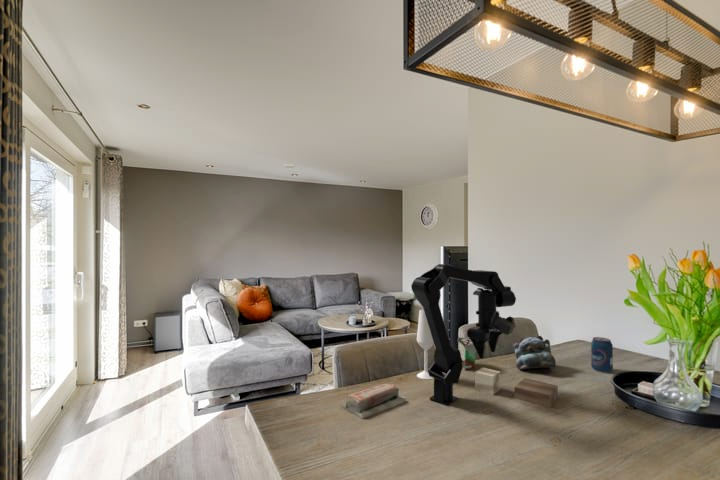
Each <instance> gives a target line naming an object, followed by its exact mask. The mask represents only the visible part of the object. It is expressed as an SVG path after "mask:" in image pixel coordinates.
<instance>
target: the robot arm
mask: <svg viewBox="0 0 720 480" xmlns="http://www.w3.org/2000/svg"><path fill="white" fill-rule="evenodd" d="M449 279H454V280H458V281H463V282H464V281H465V282H468V283H471V284H472V285H473V286H476V287H477V289H475V290H474V291H473V293H472V295H473V296H477V301H478V302H477V306H478V307H477V310H475V314H476V315H477V317H478V318H477V319H478V320H477V321H478V322H476V323H475V326H472V327H470V328H468V329H467V330H466V338H469V339H471V341H472V343H473V345H474V347H475V349H476V353H477V356H478V357H479V359H482V360H483V359H484V357H485V351H486V350H485V349H486V344H487V343H488V346H489V347H488V348H489V349H490V352H491V353H495V351H496V349H497V345H498V342H499V339H500V336H502V335H506V336H507V335H510V334H512V333H513V331H514V328H516V322H515V318H514V317H513V316H511V315H510V316H507V317H501V316H500V311H498V310H497V308H503V307H512V306H514V305H515V303H516V300H517V297H516V295H515V293H514V292H513V290H511V289H512V287H511V286H509V285H508V286H507V285H506V286H505V285H504V283H503V282H502V280H501V278H500V276H499V273H498V272H497V271H493V270H491V271H490V270H484V269H483V270H482V269H481V270H472V269H467V268H462V267H458V266H453V265H450V264H445V263H443V264H442V263H439V264H436V265H435V266H434V267H433V268H432V269H430V270H428V271H426V272H424V273H423V274H421V275H420V276H417V277H416V278H415V279H414V280H413V281H412V283H411V291H412V293H413V294H414V297H415V299H416V300H417V302H418V303H419V304H420V305H421V306H422V310H424V312H425V315H426V319H427V322H428V325H429V328H430V332H431V335H432V338H433V342H434V345H433V346H434V347H435V349H434V353H433V360H434V361H433V363H432V364H431V366H430V367H429V368H428V373H429V376H430V377H433V395H432V396H430V397H429V400H430V401H433V402H437V403H438V404H439V403H440V404H443V405H445V406H450V405H451V404H453V403H454V402H455V401H456V400H458V397H457V396H454V384H458V383H459V381H460V377H461V373H462V370H463V365H462V362H463V360H462V358H461V353H460V351H459V350H458V348H455V347H453V346H452V344H451V341H450V339H449V335H448V330H447V327H446V324H445V321H444V317H443V314H442V310H441V308H440V299H441V290H442V289H443V288H444V287H445V285H446V283H447V281H448V280H449Z"/></svg>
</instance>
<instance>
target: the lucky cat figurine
mask: <svg viewBox="0 0 720 480" xmlns="http://www.w3.org/2000/svg"><path fill="white" fill-rule="evenodd" d="M513 349H514V354H515V355H514V356H515V358H516V360H515V363H516V367H517V368H516V369H518V370H520V371H522V370H528V369H548V370H551V369H554V368H556V365H557V362H556V359H555V357H554V355H553V354H552V350H551V343H550V339H548V338H546V339H544V338H543V337H542V336H541V335H538V336H536V337H535V336H534V337H532V336H531V337H526V338H521V339H520V340H519V342H517V343H516V342H515V344H513Z"/></svg>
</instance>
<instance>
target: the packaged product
mask: <svg viewBox="0 0 720 480" xmlns="http://www.w3.org/2000/svg"><path fill="white" fill-rule="evenodd" d="M399 390H400V389H399V388H398V387H397V386H396V385H395V384H393V383H391V384H390V383H382V384H378V385H376V386H373V387H370V388H366V389H364V390H361V391H360V390H359V391H357V392H354V393H351V394H348V395H347V396H346V401H345V403H342V404H341V405H340V407H341V408H342V409H344V410H345V411H347V412H349V413H351V414H353V415H354V416H356V417H358V418H360V419H362V420H363V419H365V418H369V417H371V416H373V415H377V414H379V413H381V412H384V411H387V410H389V409H391V408H394V407H397V406H399V405H401V404H403V403H406V401H407V397H406V396H403V395H400V394H399Z"/></svg>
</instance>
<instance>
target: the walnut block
mask: <svg viewBox="0 0 720 480" xmlns="http://www.w3.org/2000/svg"><path fill="white" fill-rule="evenodd" d="M558 386H559V385H556V384H552V383H547V382H543V381H539V380H534V379H531V378H530V379H529V378H526V377H524V378H523V379H521V381H519V382H518V383H517V384H516V385H515V386H514V399H515V400H519V401H522V402H525V403H530V404H534V405H537V406H541V407H545V408H551V406H553V404H554V403H555V402H556V400H557V399H558V395H559V393H558V391H559V390H558V389H559V387H558Z"/></svg>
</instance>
